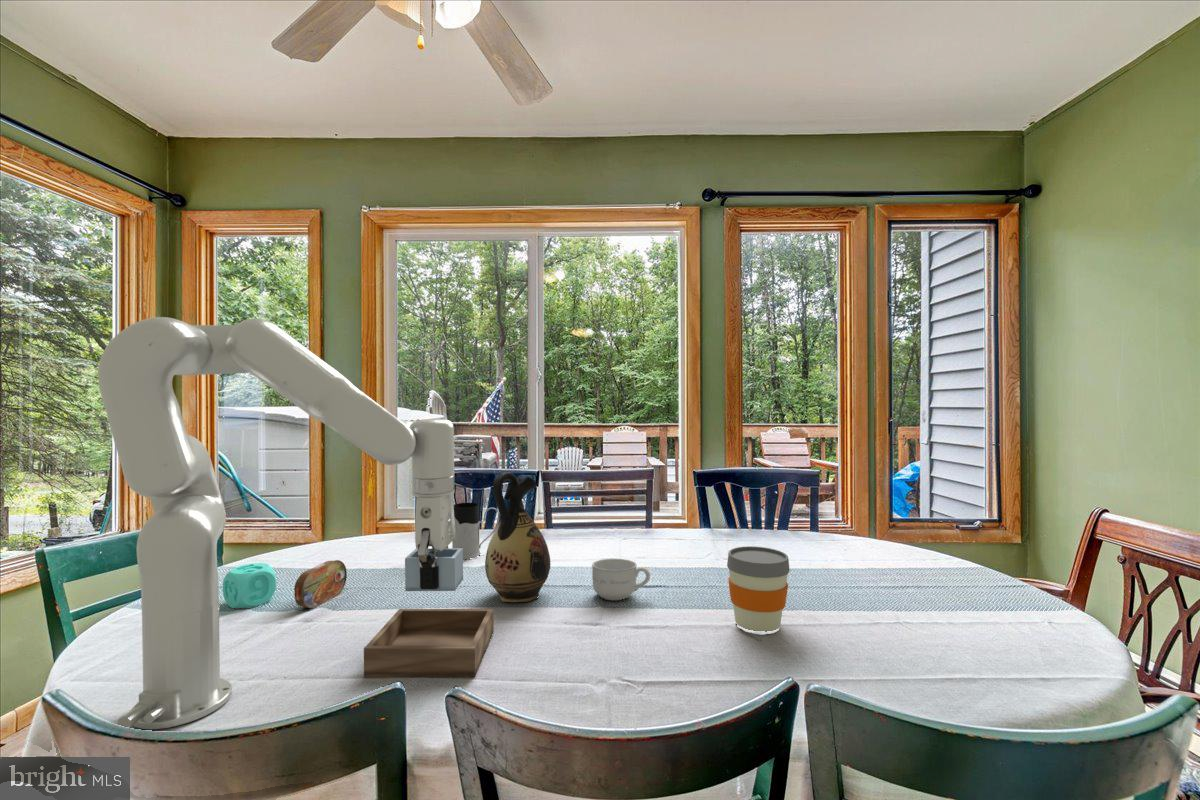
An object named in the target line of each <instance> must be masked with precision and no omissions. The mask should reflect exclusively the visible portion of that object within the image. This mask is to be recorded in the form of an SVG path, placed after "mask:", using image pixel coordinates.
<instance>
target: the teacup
mask: <svg viewBox="0 0 1200 800" xmlns="http://www.w3.org/2000/svg"><path fill="white" fill-rule="evenodd" d="M637 566H638V564H637V563H636V561H632V560H630V559H626V558H625V559H624V558H605V559H603V558H602V559H598V560H596V561H593V562H592V564H591V567H592V587H593V590H594V592H595V593H596V594H597V595H598V596H600V597H601V599H603V598H604V600H606V601H607V600H608V601H623V600H626V599H628V598H629V597H630V596H631V595H632V594H634V592H637V591H638V590H639V588H641V587H644V586H645V585H647V583H648V582H649V581H650V579H651V573H650V571H649V569H648V568H647V567H645V566H639V567H637ZM640 572H643V573H644V574H645V579H644V580H642V581H640V582H637V577H638V576H639V573H640ZM625 598H626V599H625ZM622 599H623V600H622Z"/></svg>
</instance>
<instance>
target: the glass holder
mask: <svg viewBox="0 0 1200 800" xmlns="http://www.w3.org/2000/svg"><path fill="white" fill-rule="evenodd" d="M479 505H480V504H479V503H476V502H460V503H459V502H458V503H455V504H453V506H454V521H455V538H454V539H453V541H452V542H451V543H452V546H451V547H452V548H463V559H468V560H471V559H470V558H474V559H476V558H475V557H477V556H479V555H480V554H481V555H482V553H481V551H480V549H481V547H482V544H484V543H485V542H486V541H487V540H488V539H489V538H490V537H492V536H493V534H494V532H495V531H496V529H497V527H498V525H499V523H500V522H499V521H500V513H499V511H498V508H495V507H489V508H486V510H485V511H484V515H483V520H482V521H480V514H479V513H480V512H479V511H480V506H479ZM489 510H494V511H496V512H497V521H496V525H495V527H494V529H493V530H492V532H491V533H490V534H489V535H488V536H487V537H485V538H484V539H483V540H482V541H481V542H480V524H483V523H484V522H486V518H487V517H486V516H487V513H488V511H489ZM479 557H480V556H479ZM477 558H478V557H477Z"/></svg>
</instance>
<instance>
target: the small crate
mask: <svg viewBox="0 0 1200 800" xmlns="http://www.w3.org/2000/svg"><path fill="white" fill-rule="evenodd" d="M428 555H430V556H431V558H432V557H433V553H428ZM419 560H420V559H419V557H418V550H417V549H416V548H415V549H414V550H413V551H411V553H409V554H407V556H406V557H405V558H404V572H405V573H404V580H405V583H404V584H405V585H404V587H405V588H404V589H405V590H404V591H405V592H455V591H457V589H458V587H459V586H460V584H461V583H462V582H463V580H464V560H463V548H449V547H448V548H445V549H444V550H443V551H439V550H438V554H437V565H436V566H438V568H439V587H438V588H437V589H421V588H420V567H419V564H420V561H419Z"/></svg>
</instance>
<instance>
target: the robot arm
mask: <svg viewBox="0 0 1200 800" xmlns="http://www.w3.org/2000/svg"><path fill="white" fill-rule="evenodd" d="M97 369H98V370H97V381H98V386H99V392H100V395H101V399H102V401H103V402H102V403H103V406H104V410H105V413H106V416H107V419H108V423H109V427H110V432H111V435H112V439H113V442H114V445H115V449H116V452H117V455H118V459H119V462H120V466H121V470H122V474H123V477H124V481H125V483H126V484H127V485H128V487H129V488H130V489H131V490H132V491H133V492H134V493H136V495H137V494H138V495H139V496H142V497H145V498H149V500H150V504H151V506H152V510H153V512H154V513H153V514H152V515H151V516H150V517H148V519H147V520H146V521H145V523H144V524H143V526H142V527H141V529H140V531H139V533H138V537H137V541H136V561H137V567H138V573H139V574H138V575H139V581H140V594H141V595H140V597H141V600H140V601H141V621H142V622H141V631H142V632H141V638H142V641H141V642H142V646H141V647H142V691H141V692H140V693H139V694H138V702H137V703H136V704H134V705H133V707H132V708H131V709H130V710H129V712H127V713H125V714H123V715H122V716H121V717H119V718H118V719H117V722H116V725H117V724H118V725H121V726H124V727H130V728H132V727H135V728H137V729H142V730H161V729H168V728H173V727H177V726H181V725H186V724H187V723H191V722H193V721H196V720H200V719H202V718H203V717H205V716H208V715H209V714H212V713H213V712H215V711H216V710H218V709H220V708H221V707H222V706H224V704H225V703H227V702H228V700H229V699H230V698H231V696H232V692H233V691H232V689H233V688H232V684H231V682H230V681H229V680H226V679H224V678H221V661H220V660H221V659H220V655H221V654H220V653H221V651H220V647H221V646H220V596H219V595H220V594H219V593H220V591H219V589H220V588H219V587H220V586H219V585H220V584H219V569H218V556H217V552H218V551H217V549H218V547H217V546H218V540H219V539H220V537H221V535H222V533H223V532H224V530H225V527H226V524H227V523H226V522H227V513H226V508H225V504H224V500H223V496H222V493H221V491H220V486H219V483H218V481H217V480H218V479H217V476H216V472H215V470H214V465H213V462H212V459H211V456H210V454H209V451H208V450H207V448H206V446H205V445H204V444H203V443H202V442H201V441H200V440H199V439H198V438H196V437H195V436H193V435H191V434H188V432H187V430H186V426H185V424H184V423H185V422H184V420H183V417H182V411H181V407H180V404H179V402H178V401H179V400H178V398H177V397H176V394H175V392H174V388H173V378H174V376H201V375H202V376H204V375H226V374H227V375H229V374H231V375H232V374H251V375H252V376H254V377H255V378H257V379H258V380H259V381H261V382H262V383H263V384H265V385H267V387H269V388H271V389H272V390H274V391H275V392H276V393H278V394H280V395H281V396H282V397H283V398H285V399H286V400H288V401H289V402H291V403H292V404H293V405H295V406H296V407H297V408H299V409H300V410H302V411H304V412H305V413H306V414H307V415H309V416H310V417H312V418H313V419H315V420H317V421H319V422H321V423H322V424H325V426H328V427H329V428H330V429H332V430H333V431H335V432H336V433H337V434H339V436H342V437H343V438H344V439H345V440H347V441H349V442H350V443H352V444H353V445H354V446H355V447H357V448H359V449H360V450H361V451H363V452H364V453H366V454H367V455H368V456H370V457H372V458H373V459H374V460H375V461H377V462H379V463H380V464H383V465H387V466H397V465H400V464H403V463H405V462H406V461H409V459H410V458H411V477H412V478H411V481H412V482H411V483H412V485H411V487H412V490H411V491H412V496H413V497H416V502H415V517H414V525H415V526H414V541H415V549H417V550H418V557H419V559H420V560H419V561H420V564H419V567H420V588H421V589H437V588H438V587H439V568H438V566H436V565H437V554H438V550H439V551H443V550H444V549H445V548H449V546H450V544H451V543H452V541H453V539H454V538H455V521H454V506H453V505H454V498H453V495H454V494H455V492H456V491H455V485H456V484H455V431H454V430H455V429H454V428H455V427H454V424H453V423H452V421H451V420H450V419H449V420H448V419H442V418H441V419H440V418H431V419H429V418H428V419H427V418H426V419H420V420H403V419H399V418H397V416H395V415H394V414H392V413H391V412H390V411H388V410H387V409H386V408H385V407H383V406H381V405H380V404H379V403H377V402H376V401H375V400H373V399H372V398H371V397H369V396H368V395H367V394H366V393H364V392H363V391H361V390H360V389H359V388H358V387H357V386H355V385H354V384H353V383H352V382H351V381H350V379H348V378H347V377H346V376H344V375H343V374H342V373H340V371H338V370H337V369H335V368H334V367H332V365H330V364H329V363H327V362H326V361H325V360H323V359H322V358H321V357H319V356H318V355H316V354H315V353H314V352H312V351H311V349H308V348H307V347H306V346H305V345H303V344H302V343H301V342H299V341H298V340H297V339H295V338H293V336H291V335H290V334H289V333H287V332H286V331H284V329H281V328H280V327H279V326H277V325H276V324H275V323H273V322H270V321H269V320H266V319H264V318H257V317H255V318H248V319H245V320H241V321H239V323H237V324H229V325H228V324H226V325H224V324H223V325H221V324H220V325H219V324H215V325H211V324H209V325H208V324H205V325H204V324H189V323H187V322H185V321H183V320H179V319H177V318H174V317H173V318H172V317H167V316H156V317H150V318H144V319H142V320H139V321H137V322H134V323H132V324H130V325H129V326H128V327H127V326H126V327H125V328H123V329H122V330H121V331H120V332H119V333H118V334H116V335H115V336H114V337H113V338H112V339H111V340H110V341H109V343H108V344H107V345H106V346H105V348H104V350H103V352H102V354H101V356H100V360H99V363H98V368H97ZM429 547H431V548H429ZM428 553H433V557H432V558H431V556H430V555H428Z"/></svg>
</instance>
